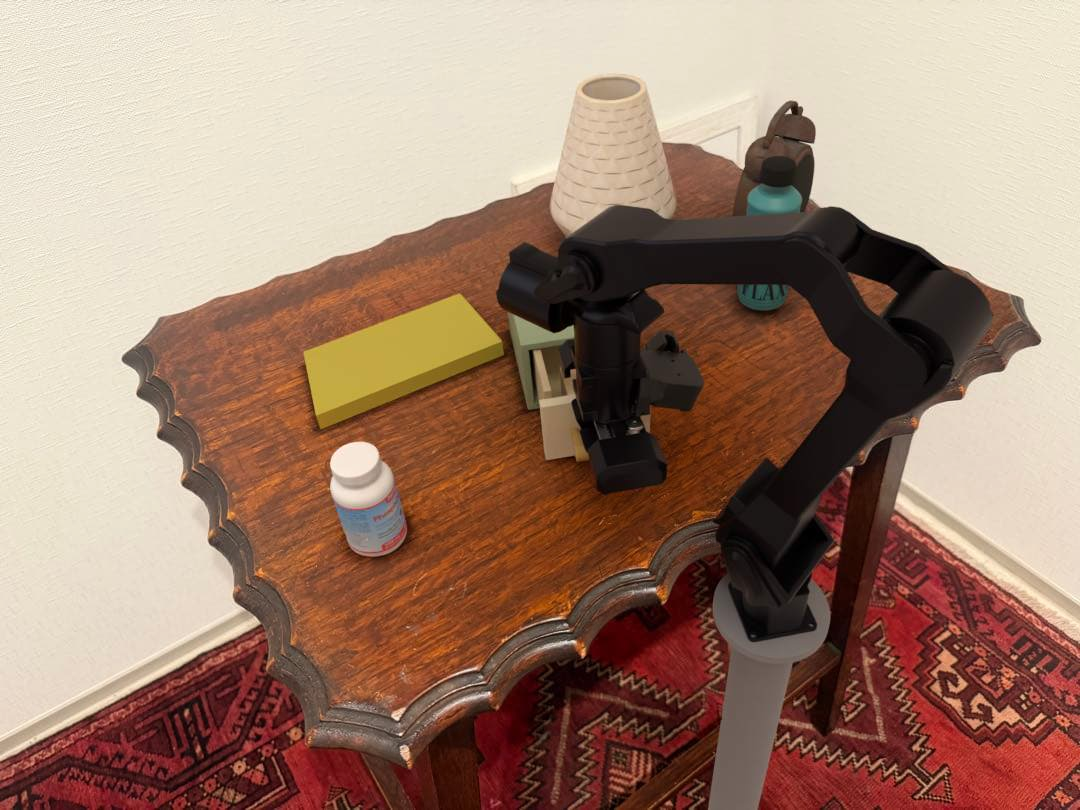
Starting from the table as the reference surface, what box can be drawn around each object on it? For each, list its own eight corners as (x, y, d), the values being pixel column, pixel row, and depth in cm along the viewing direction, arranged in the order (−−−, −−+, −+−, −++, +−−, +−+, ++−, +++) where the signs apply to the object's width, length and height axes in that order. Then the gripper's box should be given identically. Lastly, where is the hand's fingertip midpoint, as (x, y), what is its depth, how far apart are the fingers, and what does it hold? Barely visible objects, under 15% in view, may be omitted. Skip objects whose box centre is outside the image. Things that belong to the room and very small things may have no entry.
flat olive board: (462, 306, 116) (289, 372, 108) (460, 293, 114) (284, 358, 107) (504, 354, 108) (320, 429, 100) (502, 341, 106) (315, 415, 99)
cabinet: (634, 392, 101) (634, 327, 94) (528, 410, 100) (520, 345, 94) (607, 318, 112) (605, 255, 105) (510, 334, 111) (502, 271, 104)
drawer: (660, 471, 90) (662, 417, 85) (553, 490, 90) (548, 436, 84) (620, 364, 103) (620, 311, 98) (526, 379, 103) (521, 327, 97)
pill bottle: (398, 562, 85) (375, 486, 78) (339, 556, 86) (311, 480, 79) (415, 515, 90) (395, 438, 82) (359, 509, 91) (334, 433, 83)
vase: (662, 286, 116) (668, 122, 100) (538, 272, 120) (524, 113, 105) (684, 218, 128) (691, 62, 112) (570, 208, 132) (562, 57, 117)
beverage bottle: (729, 316, 110) (744, 172, 97) (741, 287, 115) (756, 145, 101) (782, 325, 108) (803, 179, 95) (791, 295, 113) (813, 151, 99)
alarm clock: (774, 278, 115) (793, 137, 102) (723, 264, 119) (736, 125, 105) (813, 226, 124) (836, 89, 111) (765, 215, 127) (781, 80, 114)
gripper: (732, 403, 69) (718, 527, 80) (667, 274, 83) (662, 394, 94) (596, 426, 69) (600, 548, 79) (553, 292, 82) (561, 411, 93)
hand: (609, 469), depth 86 cm, fingers closed
